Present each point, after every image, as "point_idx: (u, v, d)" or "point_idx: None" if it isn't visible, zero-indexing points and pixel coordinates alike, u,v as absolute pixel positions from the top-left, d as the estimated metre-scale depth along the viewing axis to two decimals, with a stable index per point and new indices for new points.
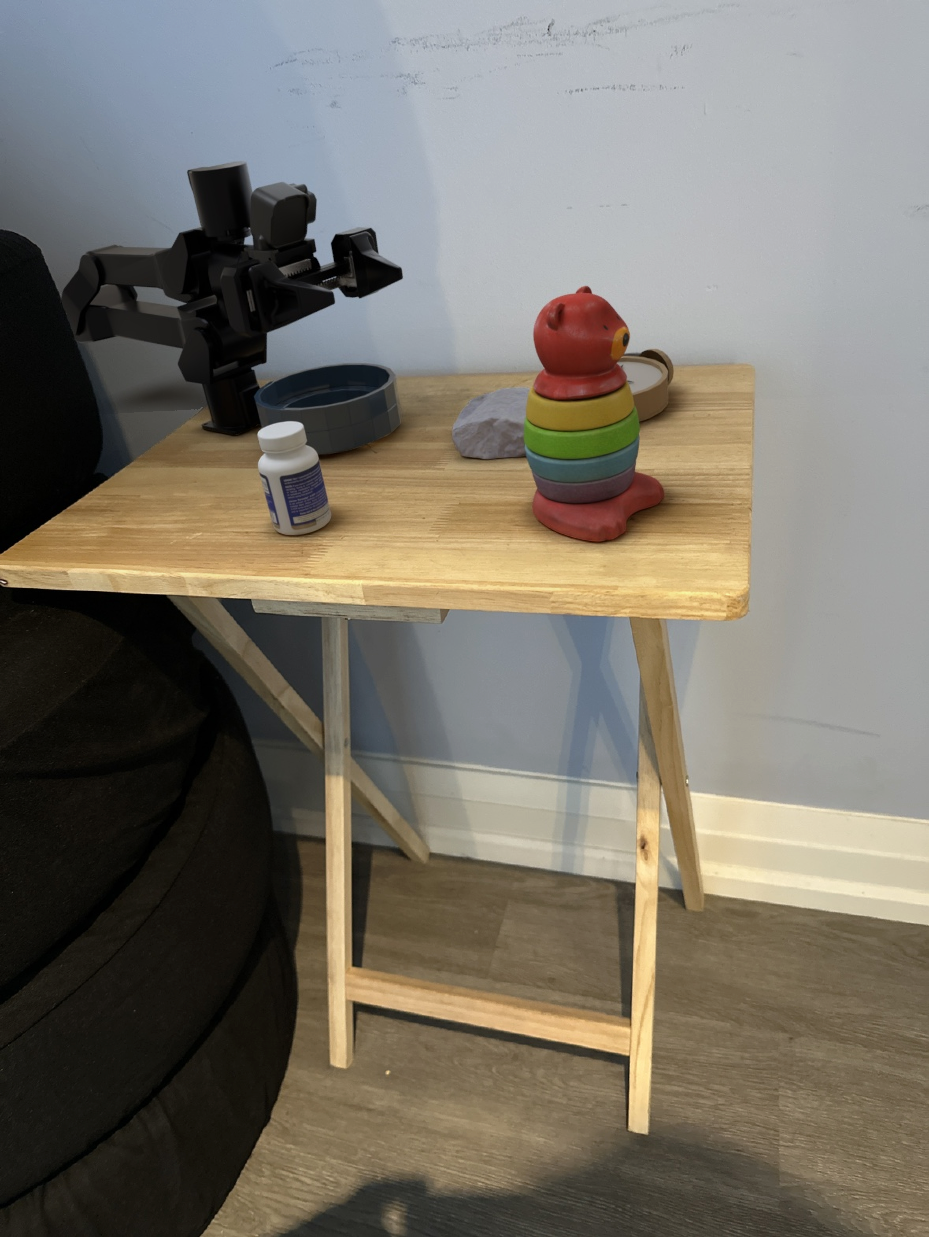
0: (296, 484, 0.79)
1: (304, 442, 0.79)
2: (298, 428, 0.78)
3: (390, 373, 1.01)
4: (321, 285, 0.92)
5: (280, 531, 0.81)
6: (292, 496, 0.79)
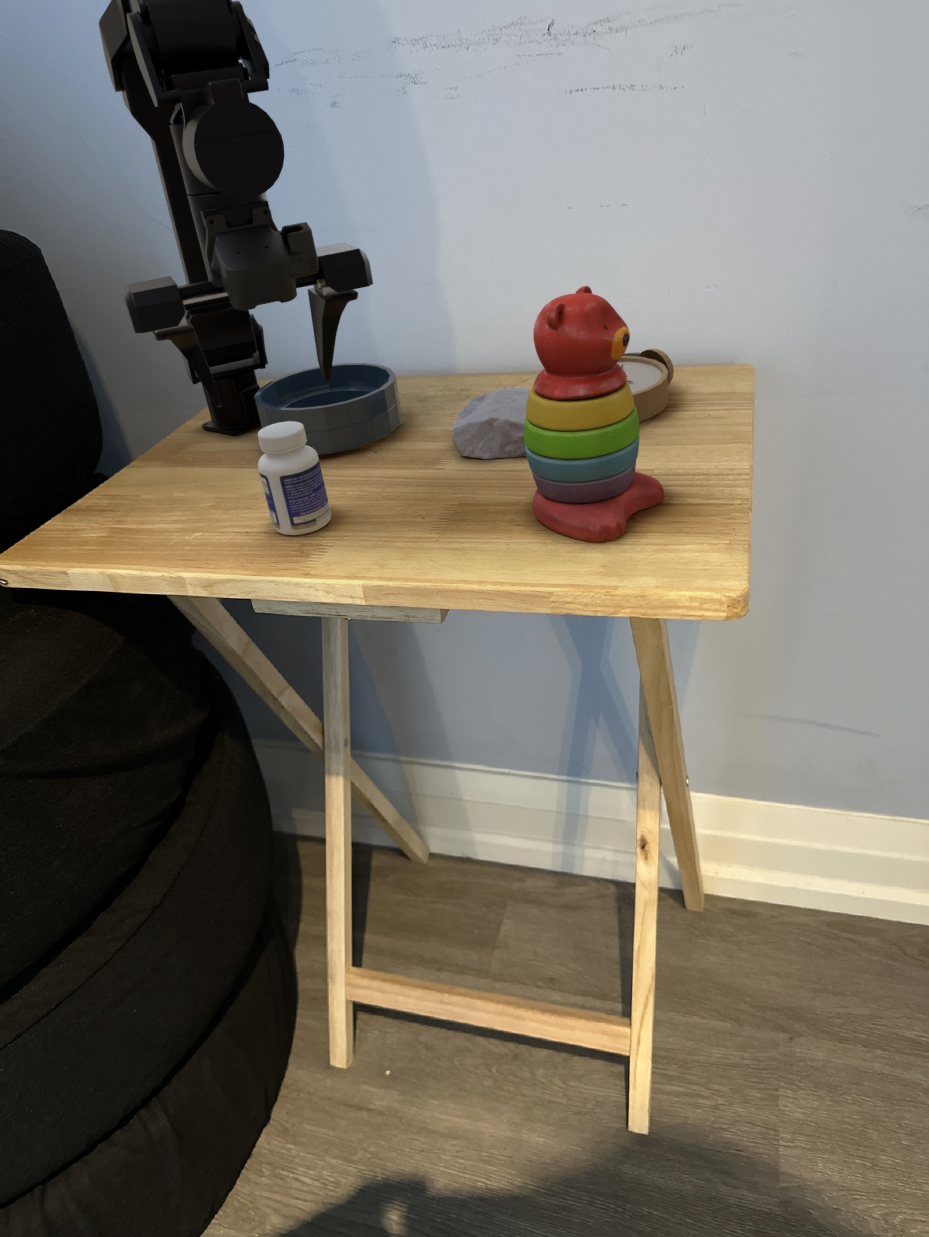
0: (296, 485, 0.79)
1: (304, 442, 0.79)
2: (298, 428, 0.78)
3: (390, 373, 1.01)
4: None
5: (280, 531, 0.81)
6: (292, 496, 0.79)
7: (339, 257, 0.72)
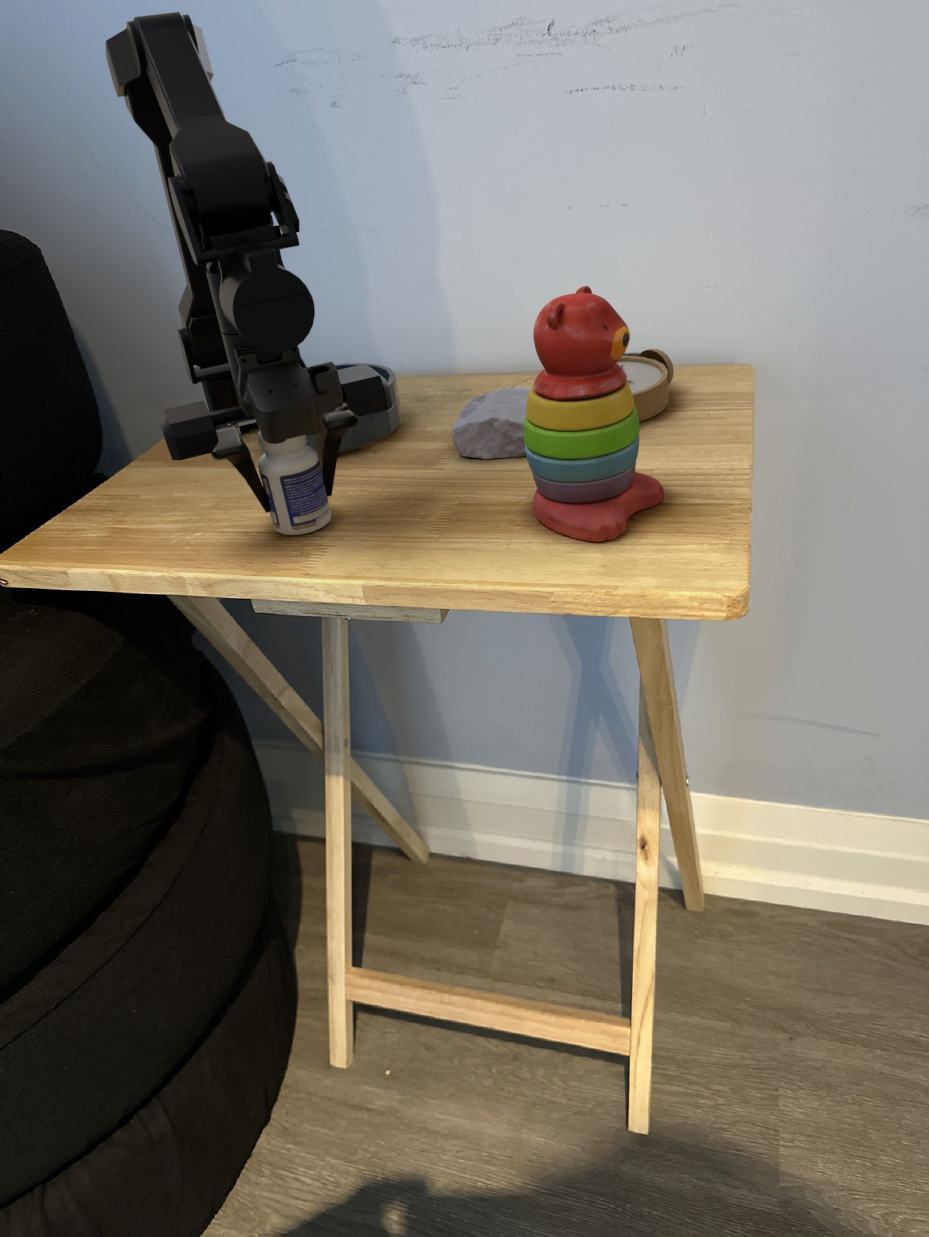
0: (296, 485, 0.79)
1: (304, 442, 0.79)
2: None
3: (390, 373, 1.01)
4: None
5: (280, 531, 0.81)
6: (292, 496, 0.79)
7: (361, 384, 0.77)
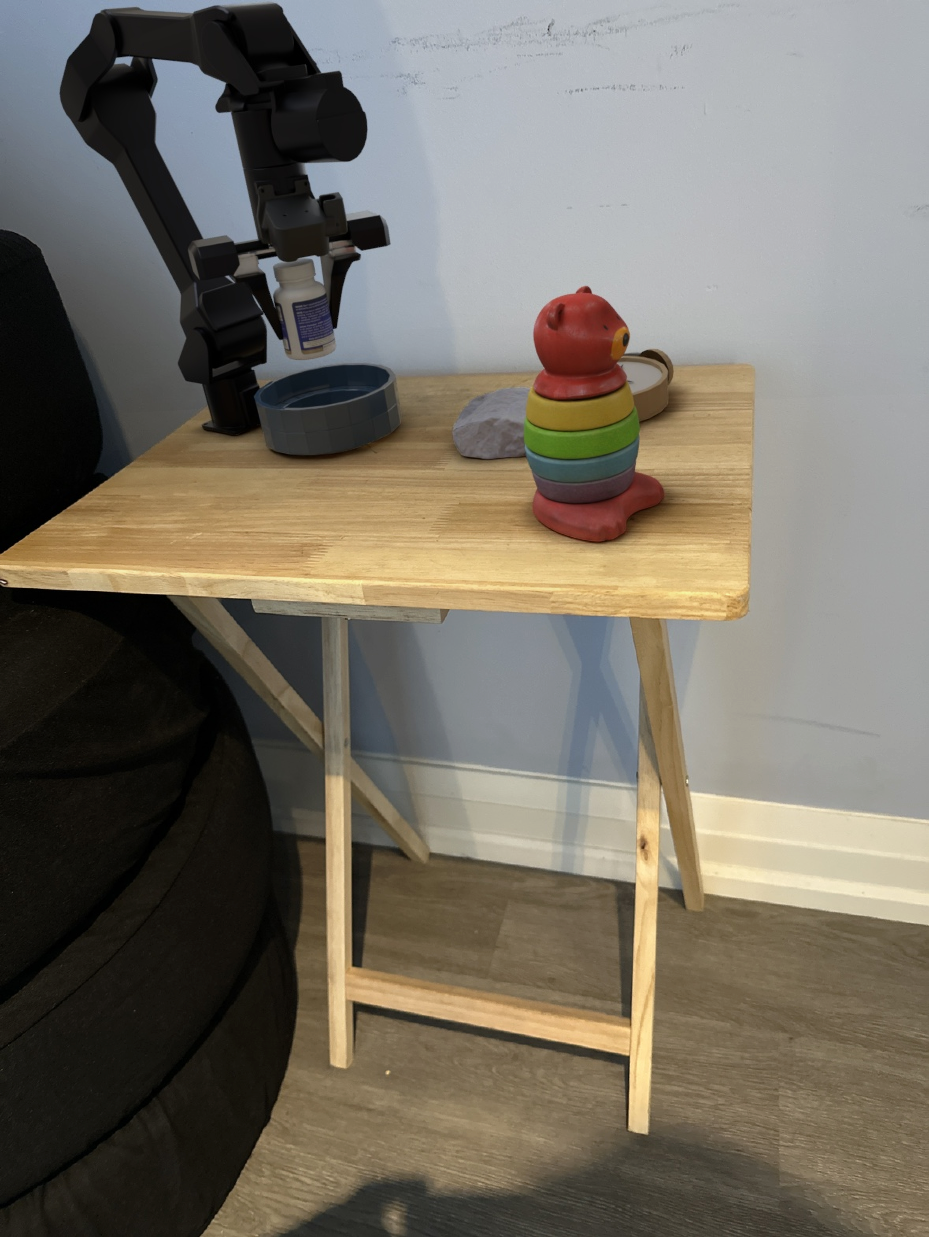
0: (305, 311, 0.90)
1: (313, 274, 0.90)
2: (308, 261, 0.90)
3: (390, 373, 1.01)
4: None
5: (291, 357, 0.93)
6: (302, 322, 0.91)
7: (363, 222, 0.89)
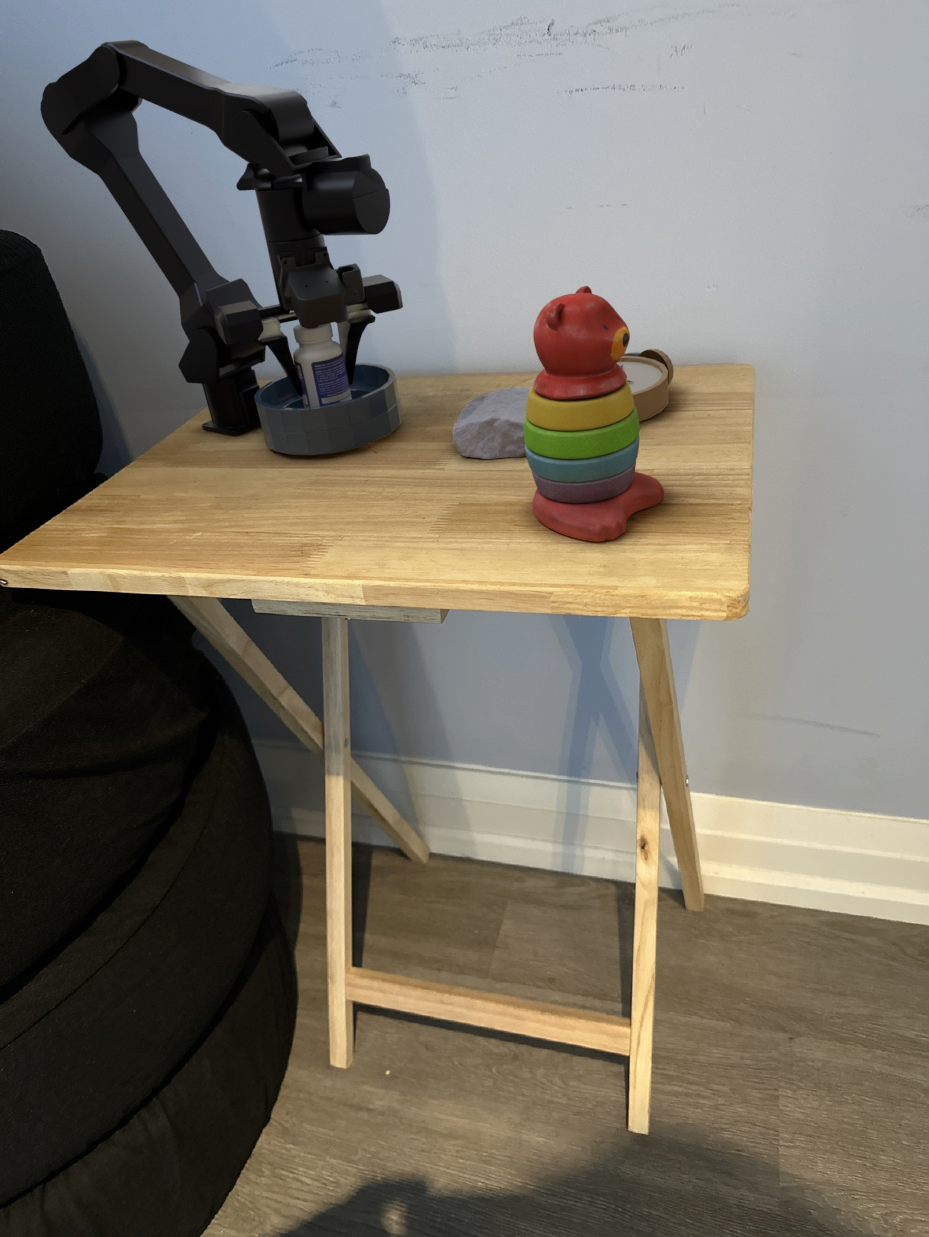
0: (324, 370, 0.96)
1: (331, 336, 0.97)
2: (326, 324, 0.96)
3: (390, 373, 1.01)
4: None
5: None
6: (321, 380, 0.97)
7: (378, 287, 0.95)
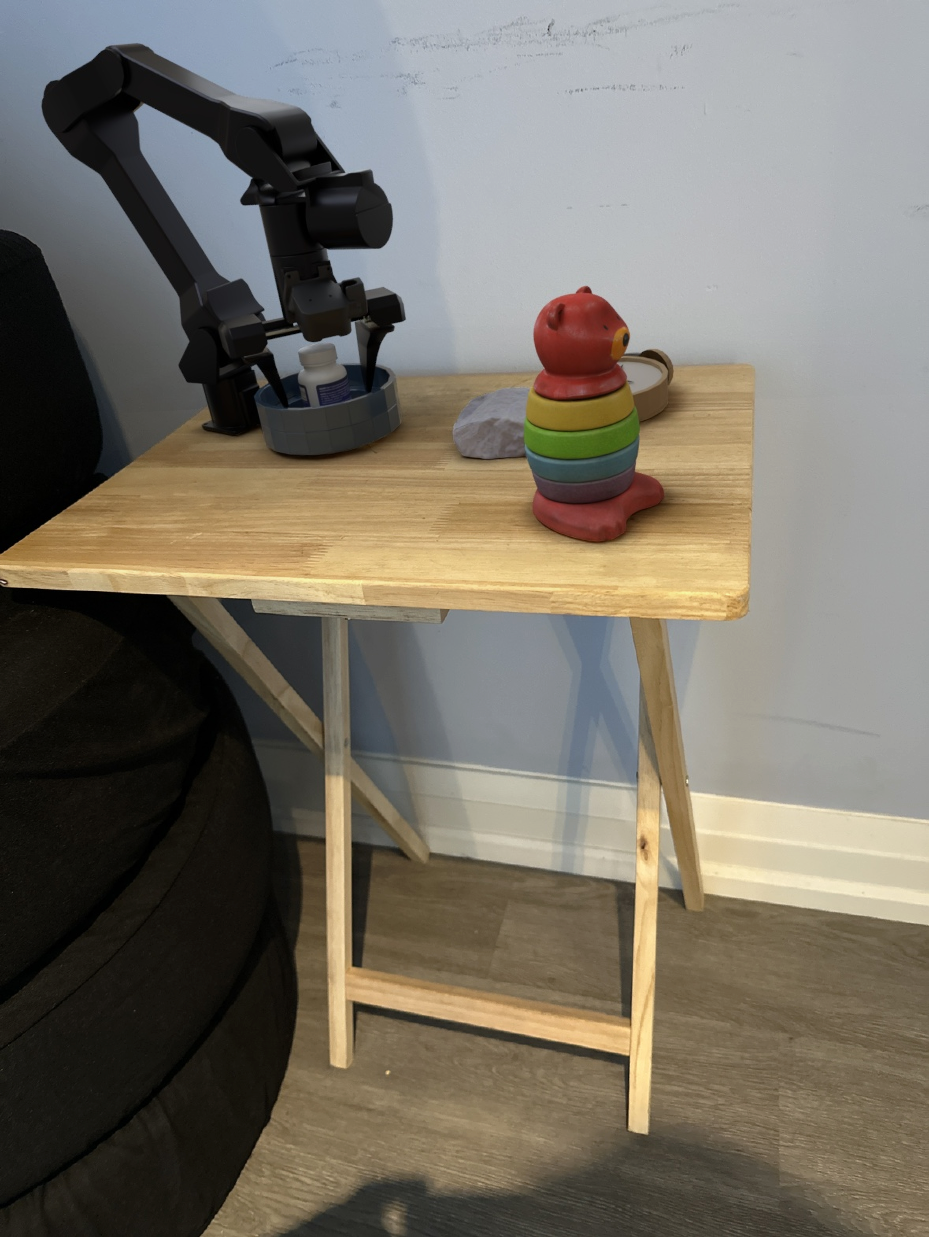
0: (329, 392, 0.98)
1: (335, 358, 0.98)
2: (331, 347, 0.97)
3: (390, 373, 1.01)
4: None
5: None
6: (326, 402, 0.98)
7: (381, 300, 0.95)
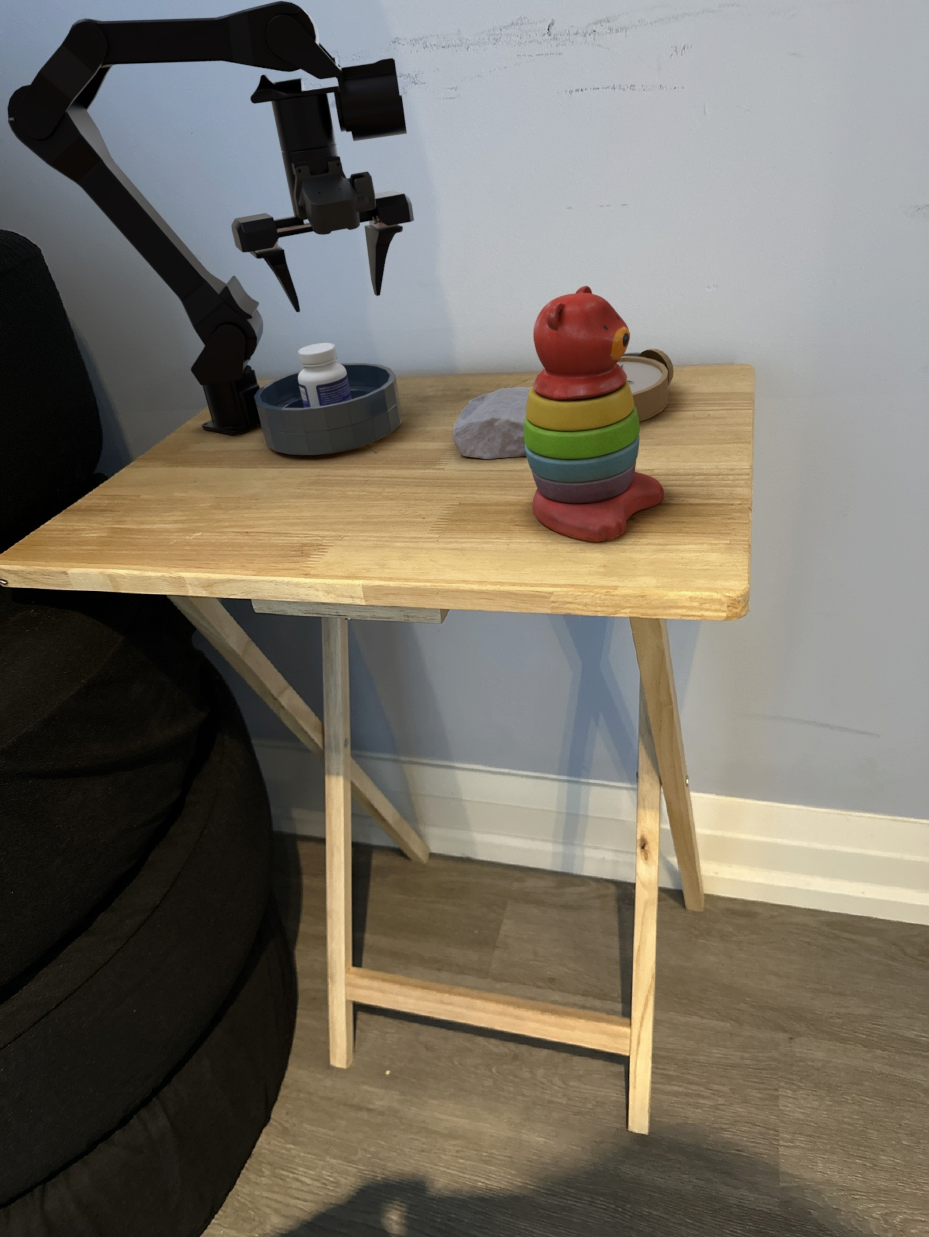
0: (329, 392, 0.98)
1: (335, 358, 0.98)
2: (331, 347, 0.97)
3: (390, 373, 1.01)
4: None
5: None
6: (326, 402, 0.98)
7: (389, 199, 0.98)
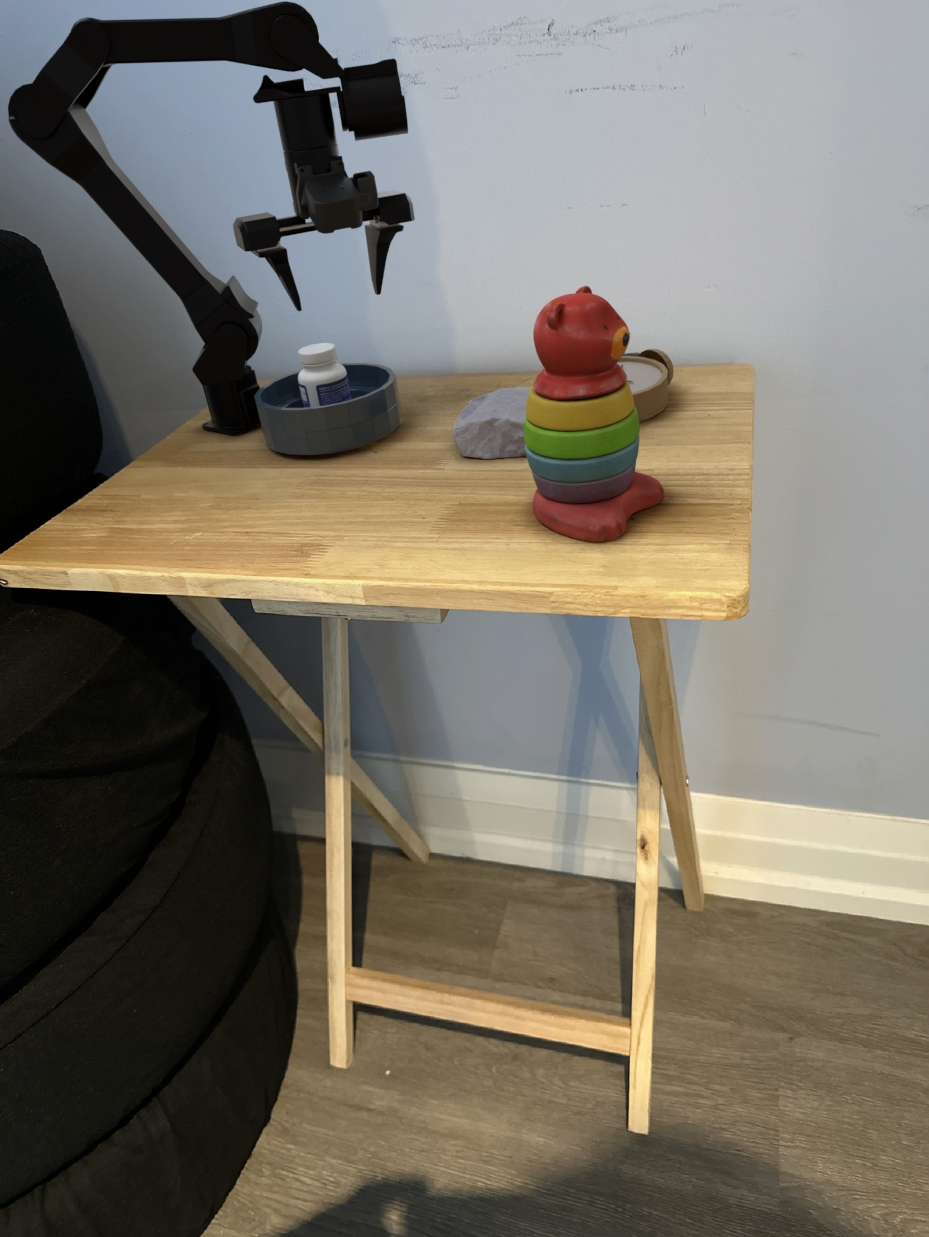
0: (329, 392, 0.98)
1: (335, 358, 0.98)
2: (331, 347, 0.97)
3: (390, 373, 1.01)
4: None
5: None
6: (326, 402, 0.98)
7: (391, 199, 0.98)
